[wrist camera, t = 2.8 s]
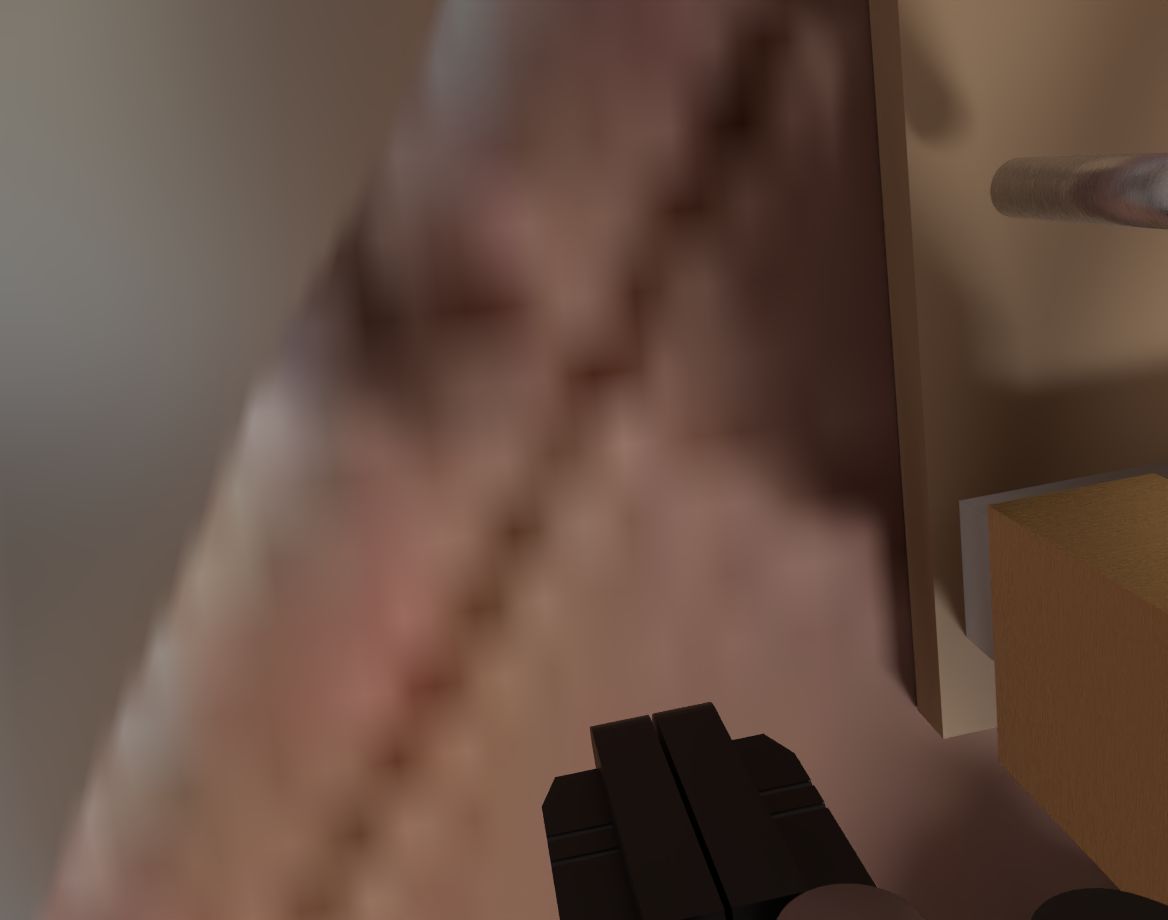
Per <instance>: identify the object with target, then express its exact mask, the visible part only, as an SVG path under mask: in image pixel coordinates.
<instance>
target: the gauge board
mask: <svg viewBox="0 0 1168 920" xmlns="http://www.w3.org/2000/svg"><path fill="white" fill-rule="evenodd" d="M869 11H870V26H871V40H872V55H873V69H874V84H875V98H876V113H877V127H878V142H879V156H880V171H881V185H882V200H883V214H884V229H885V243H886V258H887V272H888V287H889V301H890V316H891V330H892V345H893V359H894V373H895V388H896V402H897V417H898V431H899V446H900V460H901V475H902V489H903V504H904V518H905V533H906V547H907V562H908V576H909V591H910V605H911V620H912V634H913V649H914V663H915V678H916V692H917V707H918V711H919V712H920V713H921V714H922V715H923V716H924V718H925V719H926V720H927V721H928V722H929V723H930V724H931V725H932V727H933V728H934V729H935V730H936V731H937V732H938V733H939V734H940V736H941V737H942V738H943V739H945V738H949V737H954V736H959V735H963V734H968V733H973V732H978V731H982V730H987V729H992V728H997V709H996V687H995V665H994V643H993V621H992V599H991V577H990V555H989V533H988V511H987V505H990V504H995V503H1000V502H1006V501H1011V500H1016V499H1021V498H1026V497H1032V496H1037V495H1042V494H1047V493H1052V492H1058V491H1063V490H1068V489H1073V488H1078V487H1084V486H1089V485H1094V484H1099V483H1104V482H1110V481H1115V480H1120V479H1125V478H1130V477H1135V476H1141V475H1146V474H1151V473H1154V474H1157V475H1159V476H1161V477H1164V478H1166V479H1168V229H1154V228H1141V227H1127V226H1114V225H1100V224H1086V223H1073V222H1059V221H1046V220H1032V219H1018V218H1009V217H1006V216H1004V215H1002V214H1001V213H999V212H998V211H997V210H996V208H995V207H994V205H993V203H992V200H991V196H990V187H991V182H992V179H993V176H994V175H995V173H996V171H997V170H998V169H999V168H1000V166H1002V165H1003V164H1004V163H1005V162H1007V161H1009V160H1011V159H1013V158H1018V157H1043V156H1074V155H1105V154H1136V153H1166V152H1168V0H869Z"/></svg>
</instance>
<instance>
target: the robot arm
mask: <svg viewBox="0 0 1168 920" xmlns="http://www.w3.org/2000/svg"><path fill="white" fill-rule="evenodd" d="M590 733H591V741H592V747H593V753H594V759H595V765H596V769H593V770H588V771H583V772H578V773H574V774H569V775H564V776H559V777H555V779H554V781H553V783H552V785H551V788H550V790H549V792H548V794H547V796H546V799H545V801H544V803H543V805H542V811H543V817H544V823H545V830H546V836H547V841H548V848H549V854H550V861H551V866H552V873H553V879H554V886H555V892H556V898H557V904H558V910H559V917H560V920H925V919H924V918H923V916H922V915H921V914H920V913H919V912H918V911H917V910H916V909H915V908H914V907H913V906H912V905H911V904H909V903H908V902H907V901H906V900H904V899H902V898H901V897H899V896H897V895H895V894H893V893H891V892H888V891H886V890H883V889H880V888H877V887H876V885H875V884H874V882H873V880H872V879H871V877H870V876H869V874H868V872H867V871H866V869H865V867H864V866H863V864H862V863H861V861H860V859H859V858H858V856H857V854H856V853H855V851H854V849H853V848H852V846H851V845H850V843H849V841H848V840H847V838H846V836H845V835H844V833H843V832H842V830H841V828H840V827H839V825H838V823H837V822H836V820H835V818H834V817H833V815H832V814H831V812H830V810H829V809H828V808H826V807H825V803H824V801H823V799H822V797H821V796H820V794H819V792H818V791H817V789H816V788H815V786H814V785H813V786H812V783H811V779H810V778H809V776H808V774H807V773H806V771H805V770H804V768H803V766H802V765H801V763H800V761H799V760H798V758H797V757H796V755H795V753H793V752H792V751H790V750H789V749H787V748H785V747H784V746H782V745H781V744H779V743H777V742H776V741H774V740H773V739H771V738H769V737H768V736H766V735H765V734H760V735H755V736H750V737H745V738H741V739H736V740H732V739H731V737H730V736H729V734H728V732H727V730H726V728H725V726H724V724H723V722H722V720H721V718H720V716H719V714H718V712H717V710H716V708H715V707H714V705H713V704H712V702H707V703H703V704H698V705H693V706H688V707H683V708H678V709H673V710H668V711H663V712H659V713H654V714H652V721H651V719H650V717H649V715H645V716H640V717H635V718H630V719H625V720H620V721H616V722H611V723H606V724H601V725H596V726H591V727H590ZM1031 920H1168V905H1166V904H1163V903H1160V902H1157V901H1155V900H1152V899H1149V898H1146V897H1143V896H1140V895H1136V894H1133V893H1129V892H1124V891H1119V890H1113V889H1102V888H1091V889H1079V890H1072V891H1069V892H1065V893H1061V894H1059V895H1057V896H1055V897H1052V898H1050V899H1049V900H1048V901H1046V902H1045V903H1043V904H1042V905H1041V906H1040V907H1039V908H1038V909H1037V910H1036V911H1035V913H1034V915H1033V917H1032V919H1031Z"/></svg>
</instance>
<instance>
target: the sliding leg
mask: <svg viewBox="0 0 1168 920" xmlns="http://www.w3.org/2000/svg"><path fill="white" fill-rule="evenodd" d="M990 196H991V200H992V203H993V205H994V207H995V208H996V210H997V211H998V212H999V213H1001V214H1002V215H1004V216H1006V217H1009V218H1018V219H1032V220H1046V221H1059V222H1073V223H1086V224H1100V225H1114V226H1127V227H1141V228H1154V229H1168V152H1166V153H1136V154H1105V155H1074V156H1043V157H1018V158H1013V159H1011V160H1009V161H1007V162H1005V163H1004V164H1003V165H1002V166H1000V168H999V169H998V170H997V171H996V173H995V175H994V176H993V179H992V182H991V187H990ZM987 511H988V533H989V555H990V577H991V599H992V621H993V643H994V665H995V687H996V709H997V731H998V753H999V763H1000V764H1001V765H1002V766H1003V767H1004V768H1005V769H1006V770H1007V771H1008V772H1009V774H1010V775H1011V776H1012V777H1013V778H1014V779H1015V780H1016V781H1017V782H1018V783H1019V784H1020V785H1021V786H1022V787H1023V788H1024V789H1025V790H1026V791H1027V792H1028V794H1029V795H1030V796H1031V797H1032V798H1033V799H1034V800H1035V801H1036V802H1037V803H1038V804H1039V805H1040V806H1041V807H1042V808H1043V809H1044V810H1045V811H1046V812H1047V813H1048V815H1049V816H1050V817H1051V818H1052V819H1053V820H1054V821H1055V822H1056V823H1057V824H1058V825H1059V826H1060V827H1061V828H1062V829H1063V830H1064V831H1065V832H1066V833H1067V834H1068V836H1069V837H1070V838H1071V839H1072V840H1073V841H1074V842H1075V843H1076V844H1077V845H1078V846H1079V847H1080V848H1081V849H1082V850H1083V851H1084V852H1085V853H1086V854H1087V856H1088V857H1089V858H1090V859H1091V860H1092V861H1093V862H1094V863H1095V864H1096V865H1097V866H1098V867H1099V868H1100V869H1101V870H1102V871H1103V872H1104V873H1105V874H1106V875H1107V877H1108V878H1109V879H1110V880H1111V881H1112V882H1113V883H1114V884H1115V885H1116V886H1117V887H1118V888H1119V889H1120V890H1121V891H1124V892H1129V893H1133V894H1136V895H1140V896H1143V897H1146V898H1149V899H1152V900H1155V901H1157V902H1160V903H1163V904H1166V905H1168V479H1166V478H1164V477H1161V476H1159V475H1157V474H1154V473H1151V474H1146V475H1141V476H1135V477H1130V478H1125V479H1120V480H1115V481H1110V482H1104V483H1099V484H1094V485H1089V486H1084V487H1078V488H1073V489H1068V490H1063V491H1058V492H1052V493H1047V494H1042V495H1037V496H1032V497H1026V498H1021V499H1016V500H1011V501H1006V502H1000V503H995V504H990V505H987Z"/></svg>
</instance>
